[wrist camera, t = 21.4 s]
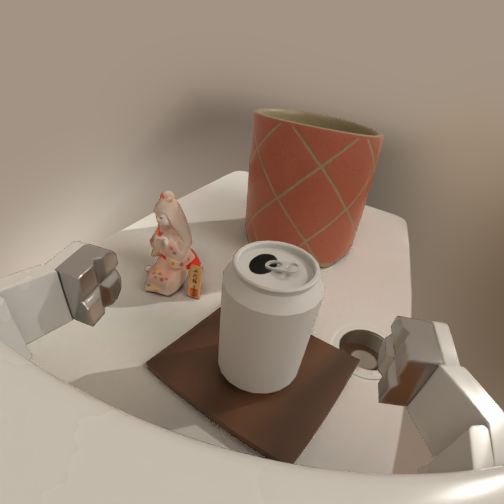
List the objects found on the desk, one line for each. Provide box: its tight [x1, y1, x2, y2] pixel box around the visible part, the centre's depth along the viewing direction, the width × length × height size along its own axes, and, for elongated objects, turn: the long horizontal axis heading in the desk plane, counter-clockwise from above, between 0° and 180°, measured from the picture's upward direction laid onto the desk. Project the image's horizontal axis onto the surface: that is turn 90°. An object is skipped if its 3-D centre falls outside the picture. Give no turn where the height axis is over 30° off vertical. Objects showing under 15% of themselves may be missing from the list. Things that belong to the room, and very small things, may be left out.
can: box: [218, 240, 325, 394], centre depth 25 cm, size 8×8×12 cm
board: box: [146, 307, 360, 464], centre depth 28 cm, size 16×14×1 cm
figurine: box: [145, 191, 203, 299], centre depth 36 cm, size 9×7×12 cm
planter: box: [246, 108, 384, 267], centre depth 46 cm, size 19×19×20 cm
